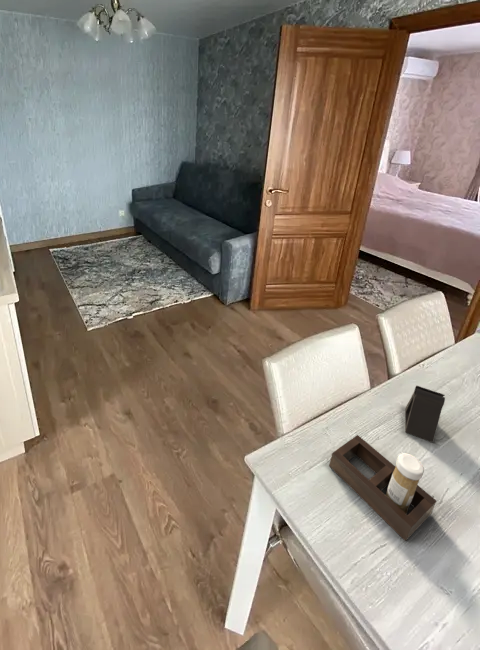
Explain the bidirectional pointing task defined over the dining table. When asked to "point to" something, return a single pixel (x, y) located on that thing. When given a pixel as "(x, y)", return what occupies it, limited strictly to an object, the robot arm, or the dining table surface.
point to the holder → (380, 486)
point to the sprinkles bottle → (404, 481)
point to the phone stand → (423, 413)
